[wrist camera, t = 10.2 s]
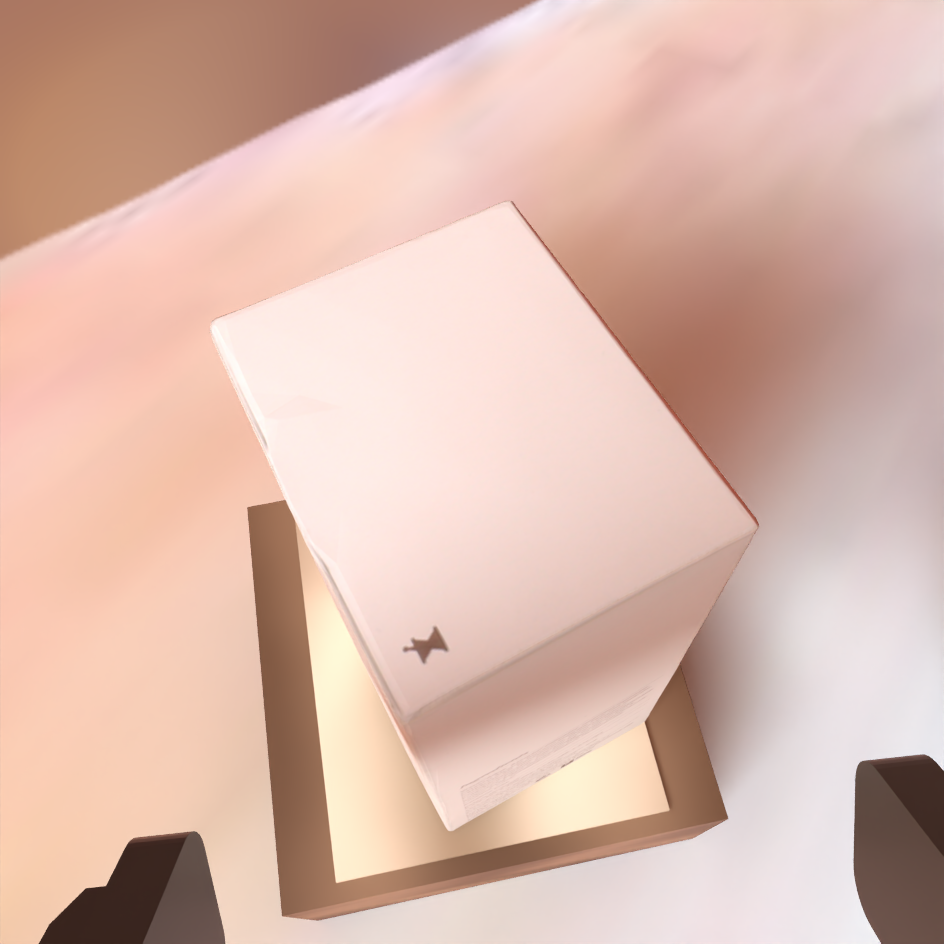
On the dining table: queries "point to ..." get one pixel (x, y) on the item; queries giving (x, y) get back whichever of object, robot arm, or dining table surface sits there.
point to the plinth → (397, 783)
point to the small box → (486, 499)
